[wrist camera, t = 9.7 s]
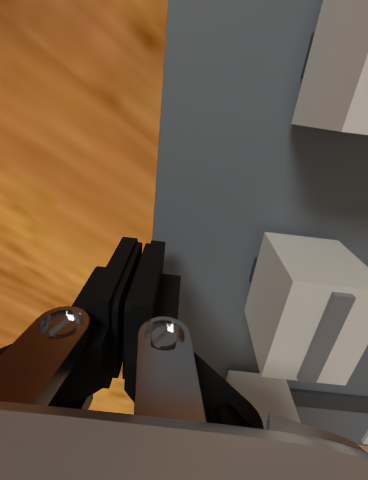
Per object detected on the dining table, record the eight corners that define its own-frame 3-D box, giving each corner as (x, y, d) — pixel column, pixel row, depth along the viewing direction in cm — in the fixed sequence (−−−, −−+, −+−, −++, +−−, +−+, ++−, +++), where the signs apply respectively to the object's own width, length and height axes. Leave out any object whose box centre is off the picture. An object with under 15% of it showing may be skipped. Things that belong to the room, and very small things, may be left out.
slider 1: (284, 376, 15) (312, 455, 11) (266, 422, 16) (285, 503, 13) (228, 370, 14) (239, 448, 11) (216, 417, 16) (222, 497, 13)
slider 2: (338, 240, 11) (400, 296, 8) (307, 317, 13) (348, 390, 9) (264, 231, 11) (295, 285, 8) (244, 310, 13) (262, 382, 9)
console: (633, -4, 11) (893, -69, 7) (380, 392, 21) (425, 459, 17) (183, -64, 11) (177, -171, 7) (149, 369, 21) (138, 431, 17)
